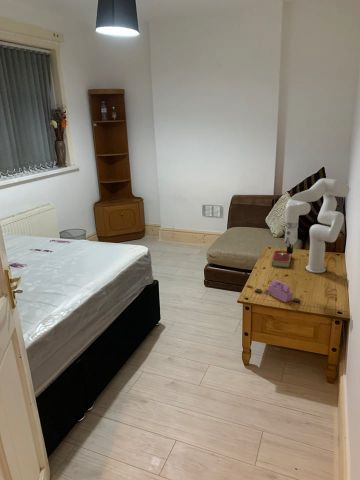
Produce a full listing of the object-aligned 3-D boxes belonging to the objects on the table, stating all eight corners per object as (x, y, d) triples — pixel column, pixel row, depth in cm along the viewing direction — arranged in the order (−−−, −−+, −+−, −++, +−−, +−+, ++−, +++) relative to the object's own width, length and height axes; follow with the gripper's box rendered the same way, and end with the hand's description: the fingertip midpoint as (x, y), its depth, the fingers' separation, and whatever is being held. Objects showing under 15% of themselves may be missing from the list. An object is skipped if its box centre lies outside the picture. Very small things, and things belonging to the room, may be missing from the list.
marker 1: (257, 290, 218) (257, 288, 218) (261, 291, 217) (261, 289, 216) (255, 292, 216) (255, 290, 216) (259, 293, 214) (259, 291, 214)
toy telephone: (293, 300, 205) (294, 284, 201) (285, 303, 202) (286, 288, 198) (270, 288, 219) (271, 274, 216) (262, 291, 216) (263, 277, 213)
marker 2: (294, 299, 206) (294, 297, 205) (299, 300, 204) (299, 298, 204) (292, 301, 204) (292, 299, 203) (298, 303, 202) (298, 301, 202)
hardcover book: (271, 266, 250) (272, 260, 249) (274, 255, 269) (274, 249, 267) (289, 267, 246) (289, 262, 245) (290, 256, 265) (291, 251, 264)
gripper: (293, 228, 202) (291, 258, 209) (301, 221, 214) (299, 250, 220) (280, 227, 207) (279, 256, 213) (289, 220, 218) (287, 248, 224)
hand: (289, 253), depth 216 cm, fingers closed
